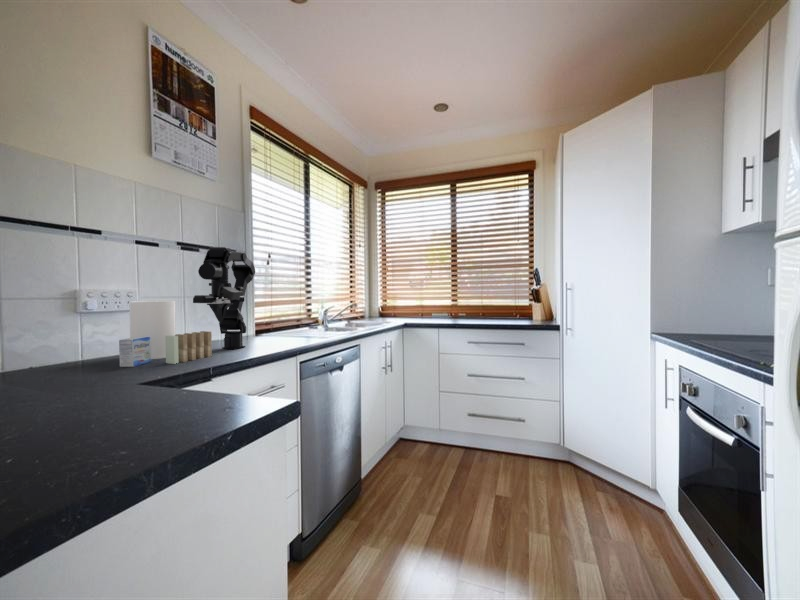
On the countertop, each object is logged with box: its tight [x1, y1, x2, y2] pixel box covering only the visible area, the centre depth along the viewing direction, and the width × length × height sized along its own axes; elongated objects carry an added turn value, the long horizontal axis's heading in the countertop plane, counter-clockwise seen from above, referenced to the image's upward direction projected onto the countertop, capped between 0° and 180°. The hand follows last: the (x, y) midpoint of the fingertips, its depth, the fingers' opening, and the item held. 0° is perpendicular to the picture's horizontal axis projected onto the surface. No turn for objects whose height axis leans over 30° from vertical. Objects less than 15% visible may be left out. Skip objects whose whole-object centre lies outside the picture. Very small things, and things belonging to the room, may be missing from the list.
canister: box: [129, 300, 177, 360], centre depth 129 cm, size 14×14×20 cm
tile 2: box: [191, 331, 205, 360], centre depth 126 cm, size 1×4×9 cm, turn 69°
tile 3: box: [183, 332, 197, 361], centre depth 123 cm, size 1×4×9 cm, turn 69°
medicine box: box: [118, 336, 152, 368], centre depth 115 cm, size 8×4×9 cm, turn 179°
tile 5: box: [165, 335, 180, 365], centre depth 117 cm, size 1×4×9 cm, turn 69°
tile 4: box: [175, 333, 189, 363], centre depth 120 cm, size 1×4×9 cm, turn 69°
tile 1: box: [200, 330, 213, 358], centre depth 129 cm, size 1×4×9 cm, turn 69°
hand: (220, 321), depth 135 cm, fingers closed
